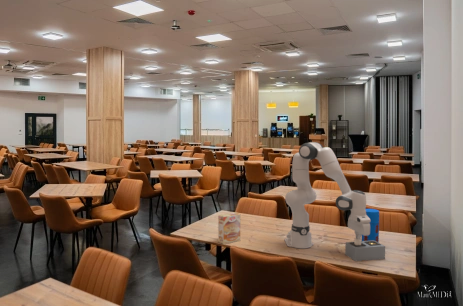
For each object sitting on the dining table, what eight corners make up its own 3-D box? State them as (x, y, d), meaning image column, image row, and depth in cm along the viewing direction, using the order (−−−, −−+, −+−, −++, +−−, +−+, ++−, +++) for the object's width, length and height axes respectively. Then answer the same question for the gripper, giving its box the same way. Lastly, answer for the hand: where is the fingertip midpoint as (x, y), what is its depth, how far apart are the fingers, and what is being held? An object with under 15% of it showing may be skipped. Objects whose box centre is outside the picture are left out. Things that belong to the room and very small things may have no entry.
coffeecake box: (223, 244, 256) (223, 216, 255) (217, 242, 262) (217, 214, 261) (240, 240, 265) (240, 213, 264) (235, 238, 271) (235, 212, 269)
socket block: (355, 261, 224) (355, 247, 223) (345, 254, 236) (345, 241, 235) (384, 258, 228) (385, 245, 227) (373, 252, 240) (374, 239, 239)
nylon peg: (352, 250, 232) (353, 238, 232) (358, 250, 233) (359, 237, 232) (356, 252, 228) (356, 239, 228) (362, 252, 229) (362, 239, 228)
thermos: (372, 250, 244) (373, 212, 242) (358, 246, 252) (358, 210, 251) (381, 247, 250) (382, 210, 248) (367, 243, 259) (368, 207, 257)
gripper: (345, 213, 239) (345, 234, 240) (362, 220, 219) (362, 243, 219) (354, 212, 240) (354, 233, 241) (372, 220, 220) (371, 243, 221)
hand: (358, 238), depth 230 cm, fingers closed, pressing on nylon peg
